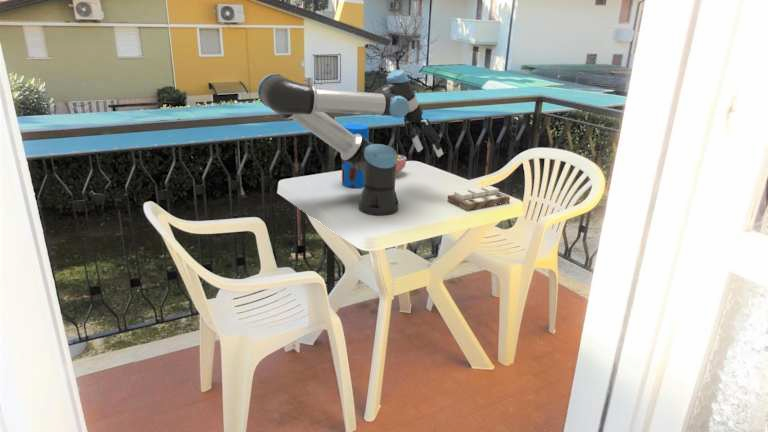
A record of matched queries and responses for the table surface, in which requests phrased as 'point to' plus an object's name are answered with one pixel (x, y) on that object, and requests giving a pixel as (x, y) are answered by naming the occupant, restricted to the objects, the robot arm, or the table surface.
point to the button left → (463, 195)
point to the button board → (478, 201)
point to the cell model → (400, 162)
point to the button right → (490, 190)
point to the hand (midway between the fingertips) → (430, 152)
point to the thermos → (349, 174)
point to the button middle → (477, 192)
